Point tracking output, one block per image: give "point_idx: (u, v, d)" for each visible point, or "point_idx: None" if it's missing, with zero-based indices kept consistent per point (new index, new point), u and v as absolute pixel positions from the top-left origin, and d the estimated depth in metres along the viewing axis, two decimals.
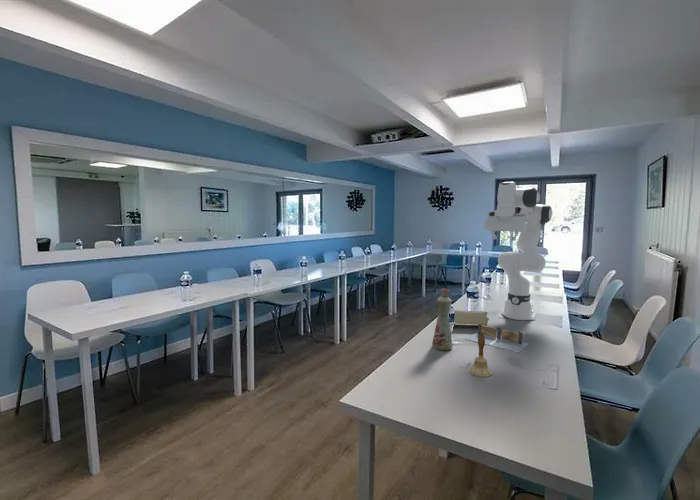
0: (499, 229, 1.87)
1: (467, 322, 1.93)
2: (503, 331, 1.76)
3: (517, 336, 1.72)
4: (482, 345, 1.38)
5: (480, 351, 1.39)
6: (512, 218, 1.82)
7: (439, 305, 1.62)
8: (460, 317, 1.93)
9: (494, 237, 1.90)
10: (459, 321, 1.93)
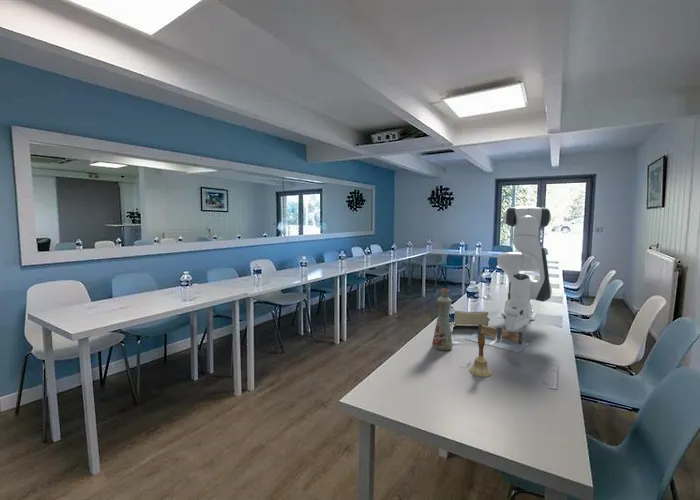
0: (520, 326, 1.71)
1: (468, 323, 1.92)
2: (503, 331, 1.76)
3: (517, 336, 1.72)
4: (482, 345, 1.38)
5: (480, 351, 1.39)
6: None
7: (439, 305, 1.62)
8: (461, 318, 1.91)
9: None
10: (460, 321, 1.92)
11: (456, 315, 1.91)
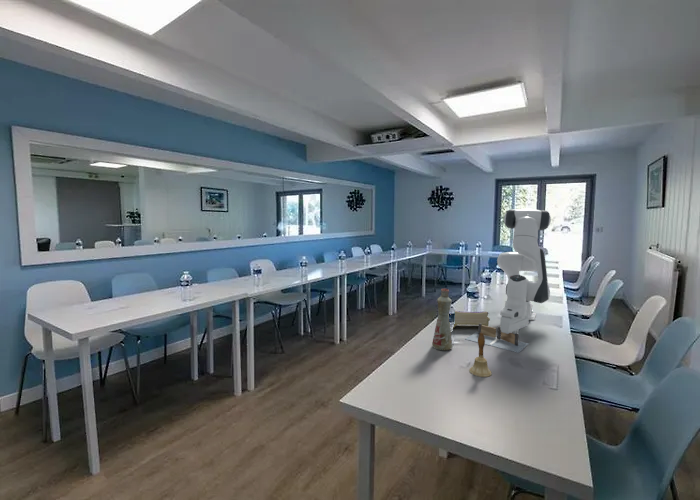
0: (516, 329, 1.68)
1: (469, 323, 1.92)
2: None
3: (513, 337, 1.70)
4: (482, 345, 1.38)
5: (480, 351, 1.39)
6: None
7: (439, 305, 1.62)
8: (462, 318, 1.91)
9: None
10: (460, 322, 1.91)
11: (456, 315, 1.91)
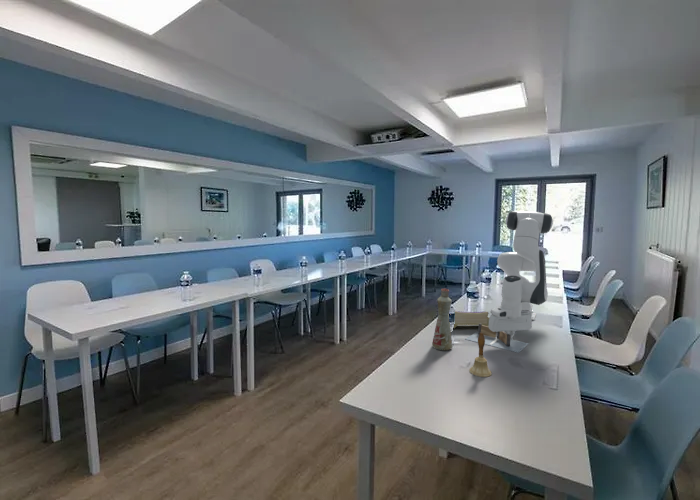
0: (508, 329, 1.67)
1: (469, 323, 1.91)
2: (500, 331, 1.75)
3: (506, 338, 1.69)
4: (482, 345, 1.38)
5: (480, 351, 1.39)
6: (520, 316, 1.68)
7: (439, 305, 1.62)
8: (462, 318, 1.91)
9: None
10: (461, 322, 1.91)
11: (457, 315, 1.90)
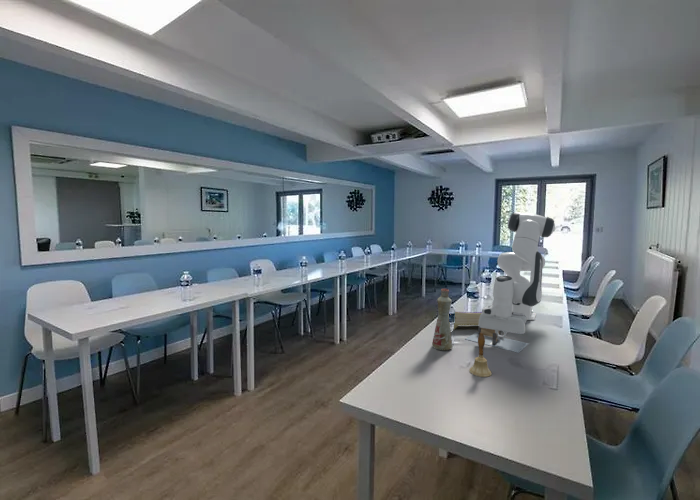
0: (495, 328, 1.69)
1: (470, 323, 1.91)
2: None
3: None
4: (482, 345, 1.38)
5: (480, 351, 1.39)
6: (510, 318, 1.65)
7: (439, 305, 1.62)
8: (463, 319, 1.90)
9: (498, 337, 1.69)
10: (462, 322, 1.90)
11: (458, 316, 1.90)
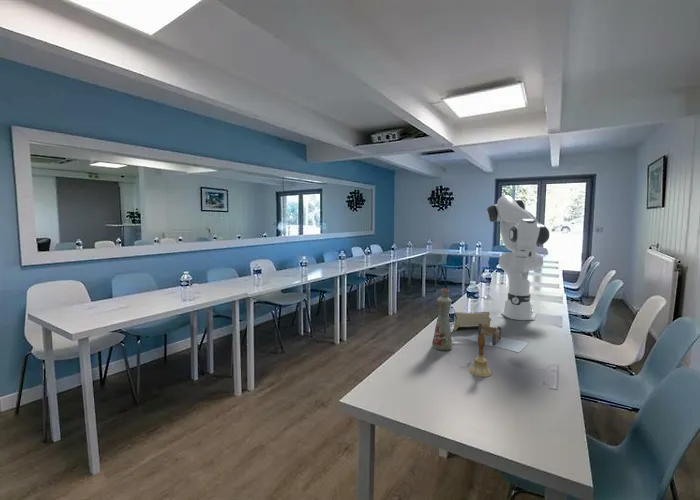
0: (527, 269, 1.76)
1: (471, 324, 1.90)
2: (497, 331, 1.76)
3: None
4: (482, 345, 1.38)
5: (480, 351, 1.39)
6: (532, 256, 1.80)
7: (439, 305, 1.62)
8: (464, 319, 1.89)
9: (526, 277, 1.78)
10: (463, 323, 1.89)
11: (459, 317, 1.89)
